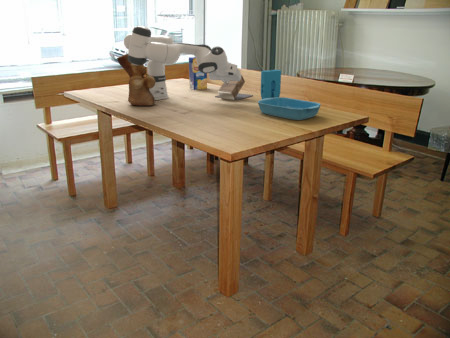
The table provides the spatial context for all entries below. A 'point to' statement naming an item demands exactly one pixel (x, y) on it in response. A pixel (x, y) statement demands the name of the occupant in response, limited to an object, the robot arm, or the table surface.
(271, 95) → the block
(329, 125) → the table surface
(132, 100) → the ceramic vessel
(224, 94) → the walnut block
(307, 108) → the casserole dish
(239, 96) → the felt mat
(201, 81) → the cracker box
